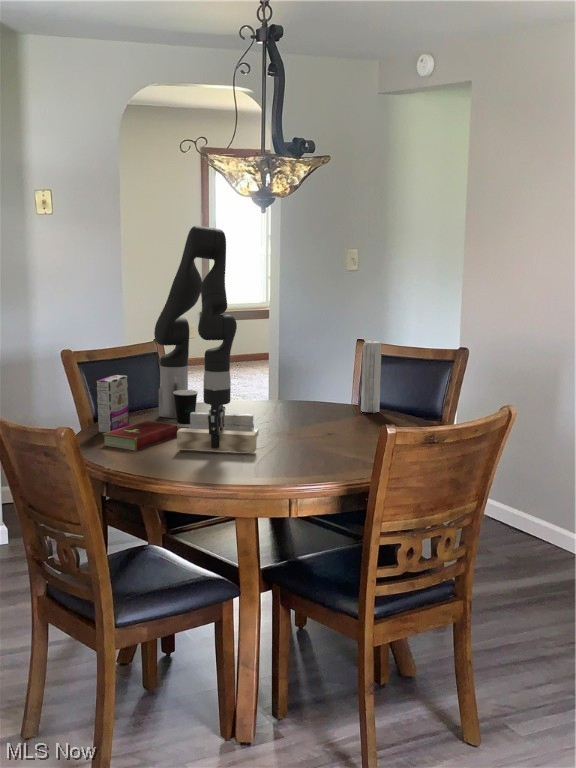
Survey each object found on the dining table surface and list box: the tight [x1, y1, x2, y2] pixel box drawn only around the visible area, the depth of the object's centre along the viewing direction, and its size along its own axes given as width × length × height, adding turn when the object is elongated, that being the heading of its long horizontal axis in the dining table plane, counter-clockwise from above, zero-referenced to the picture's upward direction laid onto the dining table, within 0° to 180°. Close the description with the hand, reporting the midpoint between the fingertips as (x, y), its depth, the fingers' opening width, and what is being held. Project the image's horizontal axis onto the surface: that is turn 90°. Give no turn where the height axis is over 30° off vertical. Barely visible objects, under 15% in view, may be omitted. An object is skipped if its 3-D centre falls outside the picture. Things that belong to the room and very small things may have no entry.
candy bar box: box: [96, 374, 130, 434], centre depth 262 cm, size 11×5×16 cm, turn 161°
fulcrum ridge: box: [188, 411, 259, 436], centre depth 256 cm, size 21×12×7 cm, turn 85°
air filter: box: [360, 340, 382, 413], centre depth 294 cm, size 6×6×25 cm
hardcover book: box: [101, 420, 180, 452], centre depth 249 cm, size 12×21×4 cm, turn 153°
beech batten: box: [176, 427, 258, 454], centre depth 237 cm, size 22×4×5 cm, turn 83°
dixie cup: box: [173, 389, 199, 428], centre depth 269 cm, size 8×8×11 cm
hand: (216, 445), depth 237 cm, fingers closed on beech batten, 4 cm apart
